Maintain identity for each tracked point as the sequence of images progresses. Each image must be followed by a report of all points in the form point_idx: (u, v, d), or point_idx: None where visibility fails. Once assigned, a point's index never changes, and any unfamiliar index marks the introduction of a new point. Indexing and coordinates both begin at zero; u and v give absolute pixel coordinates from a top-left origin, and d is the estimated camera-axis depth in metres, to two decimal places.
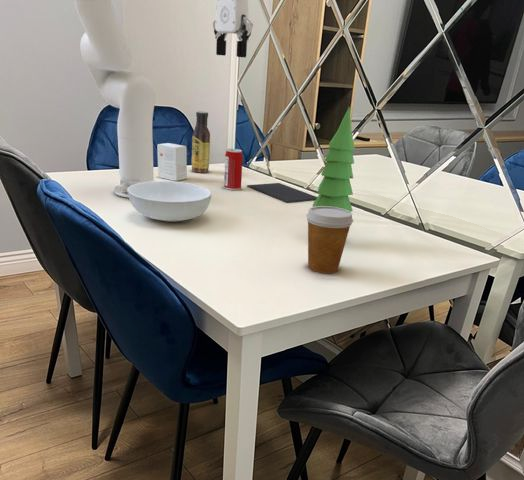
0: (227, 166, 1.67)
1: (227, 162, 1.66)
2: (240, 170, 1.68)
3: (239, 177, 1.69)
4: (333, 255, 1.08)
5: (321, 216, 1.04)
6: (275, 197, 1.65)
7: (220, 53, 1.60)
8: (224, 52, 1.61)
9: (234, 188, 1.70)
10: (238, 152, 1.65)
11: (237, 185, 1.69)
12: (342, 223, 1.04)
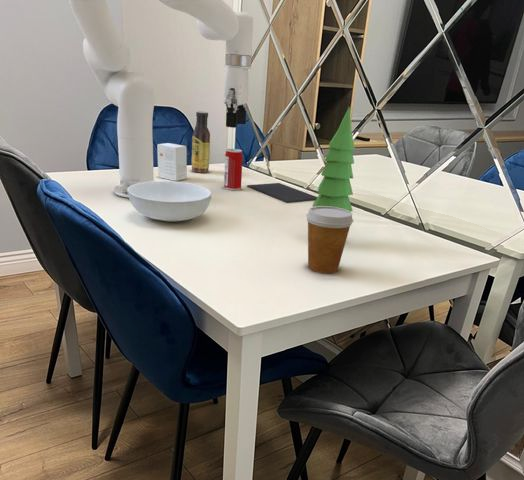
0: (227, 166, 1.67)
1: (227, 162, 1.66)
2: (240, 170, 1.68)
3: (239, 177, 1.69)
4: (333, 255, 1.08)
5: (321, 216, 1.04)
6: (275, 197, 1.65)
7: (238, 122, 1.67)
8: (243, 122, 1.67)
9: (234, 188, 1.70)
10: (238, 152, 1.65)
11: (237, 185, 1.69)
12: (342, 223, 1.04)
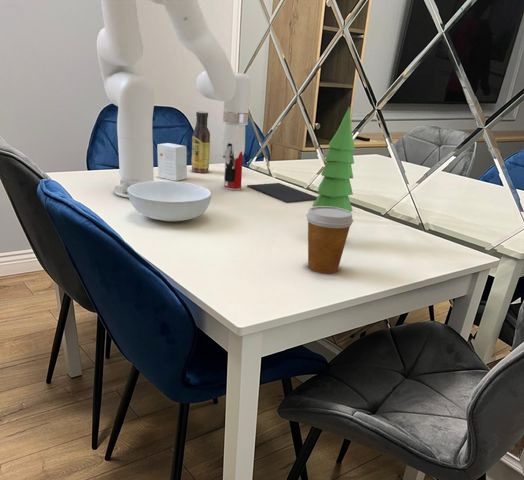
0: None
1: None
2: (240, 170, 1.68)
3: (239, 177, 1.69)
4: (333, 255, 1.08)
5: (321, 216, 1.04)
6: (275, 197, 1.65)
7: None
8: None
9: (234, 188, 1.70)
10: None
11: (237, 185, 1.69)
12: (342, 223, 1.04)
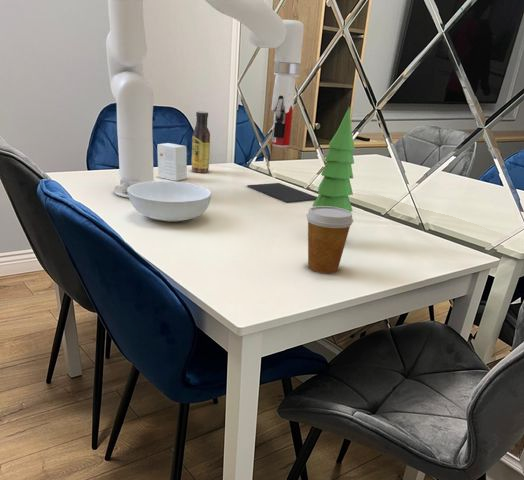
0: None
1: None
2: (289, 125, 1.61)
3: (288, 133, 1.62)
4: (333, 255, 1.08)
5: (321, 216, 1.04)
6: (275, 197, 1.65)
7: None
8: None
9: (283, 145, 1.62)
10: None
11: (286, 142, 1.62)
12: (342, 223, 1.04)
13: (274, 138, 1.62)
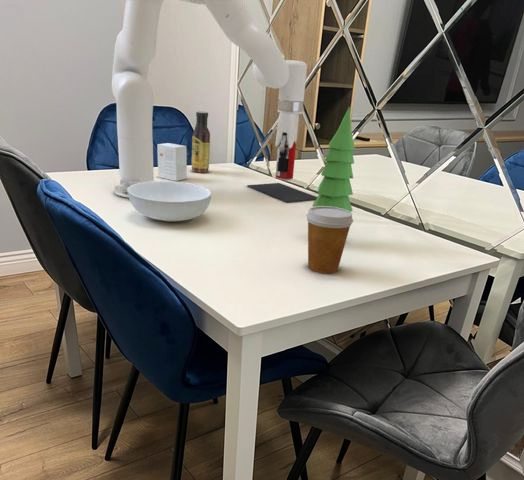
0: None
1: None
2: (293, 160, 1.65)
3: (292, 167, 1.66)
4: (333, 255, 1.08)
5: (321, 216, 1.04)
6: (275, 197, 1.65)
7: None
8: None
9: (286, 178, 1.67)
10: None
11: (289, 175, 1.67)
12: (342, 223, 1.04)
13: (278, 172, 1.67)
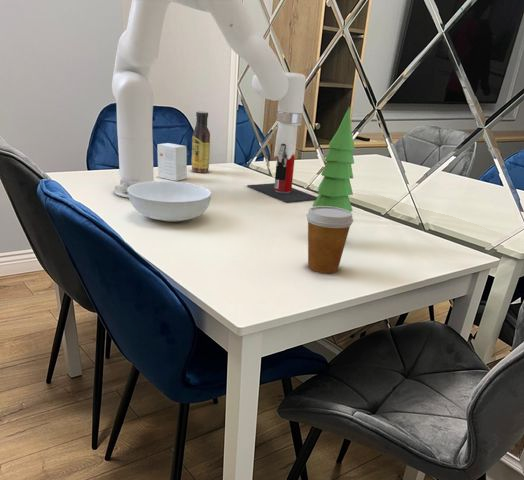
0: None
1: None
2: (291, 173, 1.67)
3: (290, 180, 1.68)
4: (333, 255, 1.08)
5: (321, 216, 1.04)
6: (275, 197, 1.65)
7: None
8: None
9: (285, 191, 1.69)
10: None
11: (288, 188, 1.69)
12: (342, 223, 1.04)
13: (277, 185, 1.69)
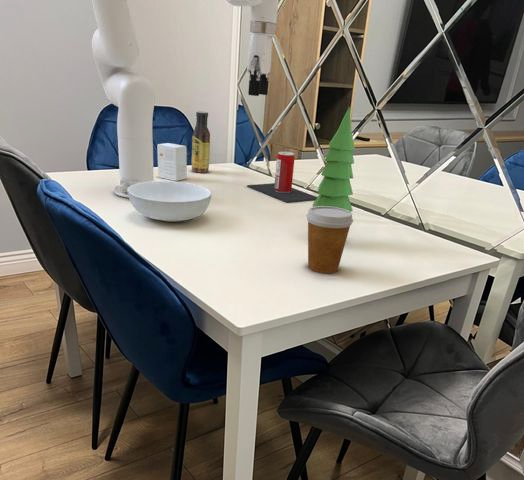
0: (279, 169, 1.66)
1: (279, 165, 1.66)
2: (291, 173, 1.67)
3: (290, 180, 1.68)
4: (333, 255, 1.08)
5: (321, 216, 1.04)
6: (275, 197, 1.65)
7: (260, 92, 1.67)
8: (265, 92, 1.67)
9: (285, 191, 1.69)
10: (290, 155, 1.64)
11: (288, 188, 1.69)
12: (342, 223, 1.04)
13: (277, 185, 1.69)
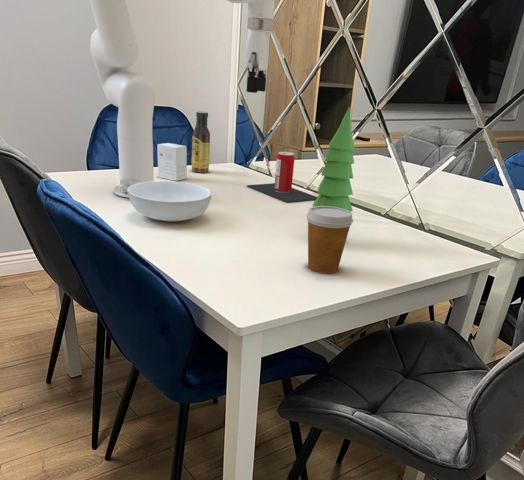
0: (279, 169, 1.66)
1: (279, 165, 1.66)
2: (291, 173, 1.67)
3: (290, 180, 1.68)
4: (333, 255, 1.08)
5: (321, 216, 1.04)
6: (275, 197, 1.65)
7: (258, 89, 1.67)
8: (263, 89, 1.67)
9: (285, 191, 1.69)
10: (290, 155, 1.64)
11: (288, 188, 1.69)
12: (342, 223, 1.04)
13: (277, 185, 1.69)
